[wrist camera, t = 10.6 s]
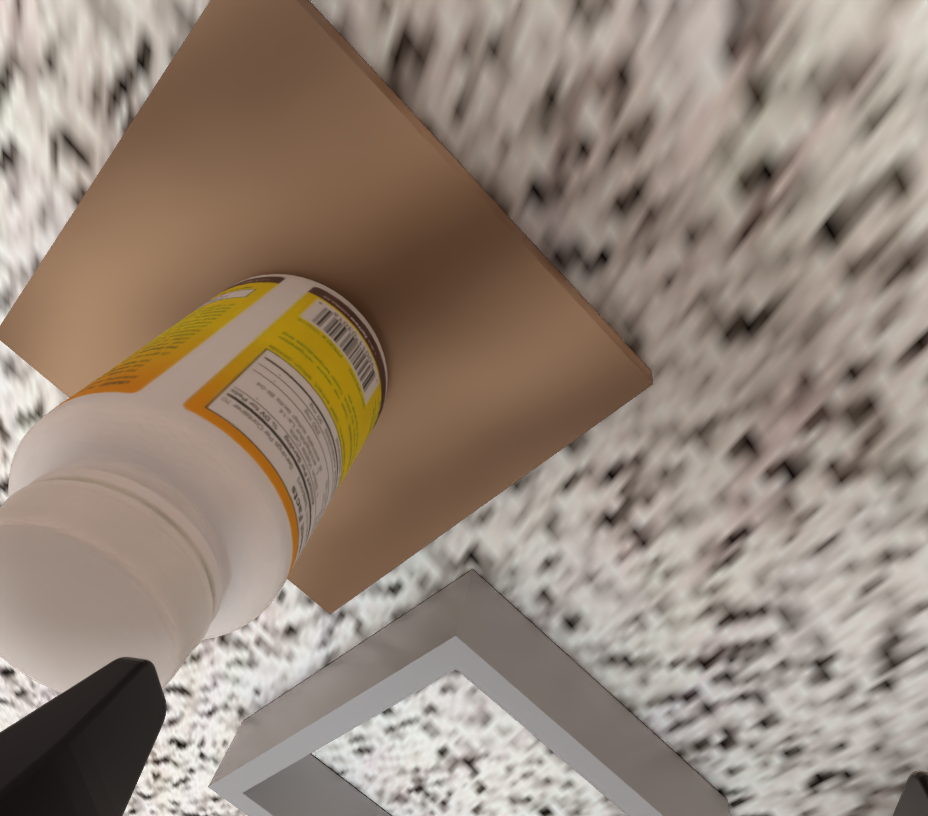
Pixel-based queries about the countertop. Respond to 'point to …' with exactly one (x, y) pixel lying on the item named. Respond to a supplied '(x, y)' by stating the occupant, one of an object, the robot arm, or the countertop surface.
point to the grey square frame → (490, 669)
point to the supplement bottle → (184, 481)
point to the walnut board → (331, 275)
